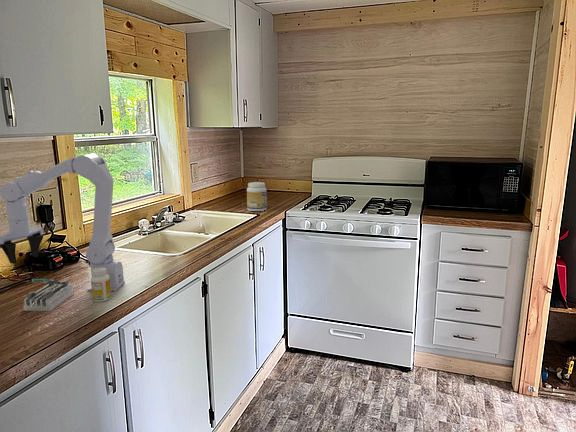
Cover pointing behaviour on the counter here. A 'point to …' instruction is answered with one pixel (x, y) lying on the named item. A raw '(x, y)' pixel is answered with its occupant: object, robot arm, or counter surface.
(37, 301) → the heat sink
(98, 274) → the supplement bottle
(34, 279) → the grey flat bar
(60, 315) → the counter surface
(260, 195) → the supplement tub
